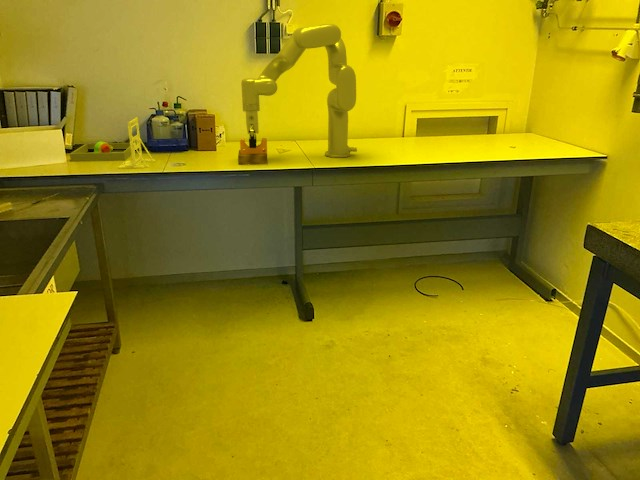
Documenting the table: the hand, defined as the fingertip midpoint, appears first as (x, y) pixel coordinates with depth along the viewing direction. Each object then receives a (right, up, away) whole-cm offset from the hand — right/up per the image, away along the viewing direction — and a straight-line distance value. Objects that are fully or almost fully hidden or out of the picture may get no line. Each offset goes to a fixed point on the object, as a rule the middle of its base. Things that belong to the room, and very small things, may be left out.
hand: (253, 145), depth 237 cm
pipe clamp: (0, -3, +1) cm, 4 cm away
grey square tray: (-73, -2, +12) cm, 74 cm away
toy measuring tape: (-76, -4, +9) cm, 77 cm away
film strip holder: (-52, -10, -6) cm, 53 cm away
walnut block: (0, -7, +3) cm, 7 cm away
